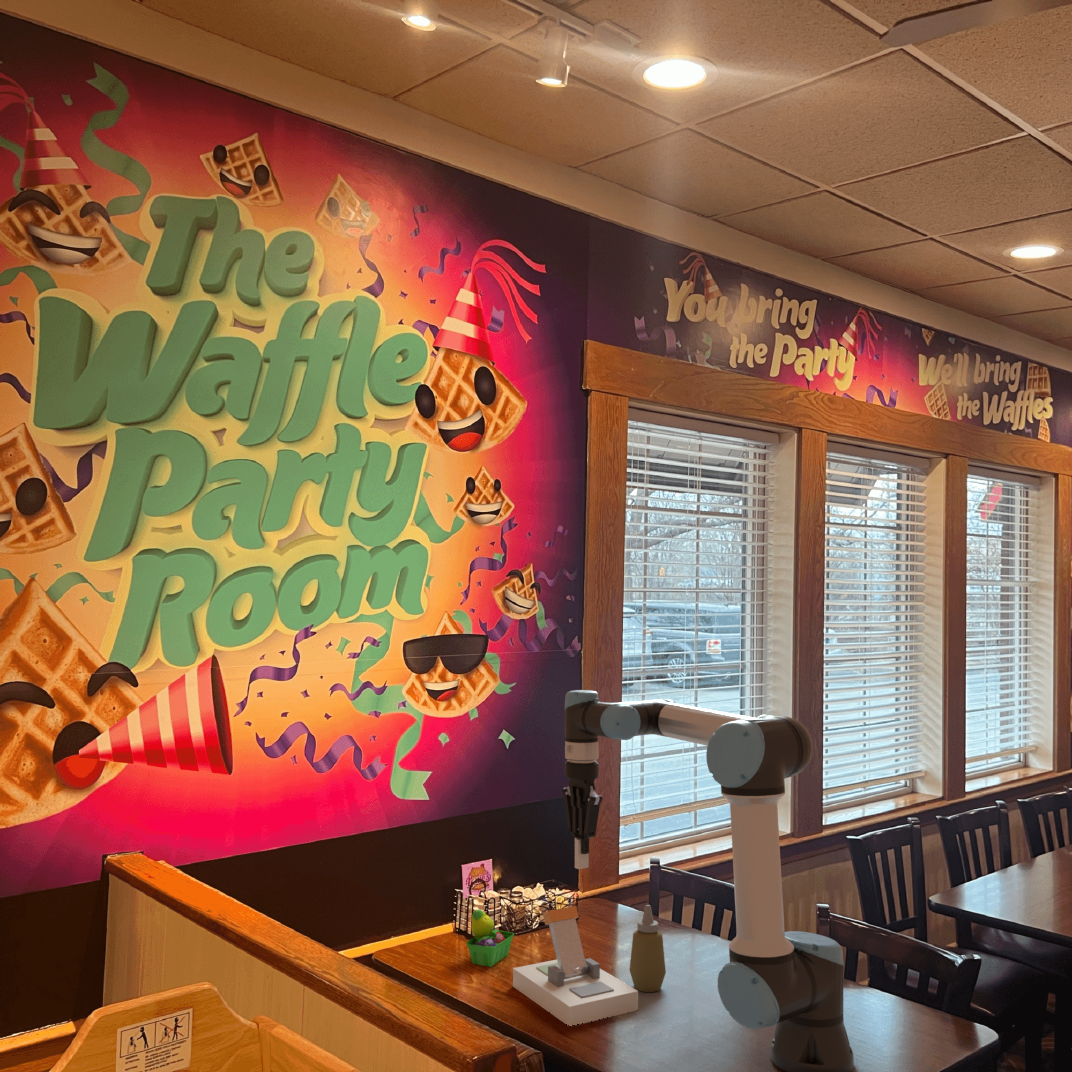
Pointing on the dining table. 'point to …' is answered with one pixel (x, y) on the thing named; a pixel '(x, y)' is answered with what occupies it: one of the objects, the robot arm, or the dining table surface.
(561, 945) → the lever
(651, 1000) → the dining table surface
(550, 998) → the switch panel
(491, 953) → the fruit basket
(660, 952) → the squeeze bottle
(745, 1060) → the dining table surface
